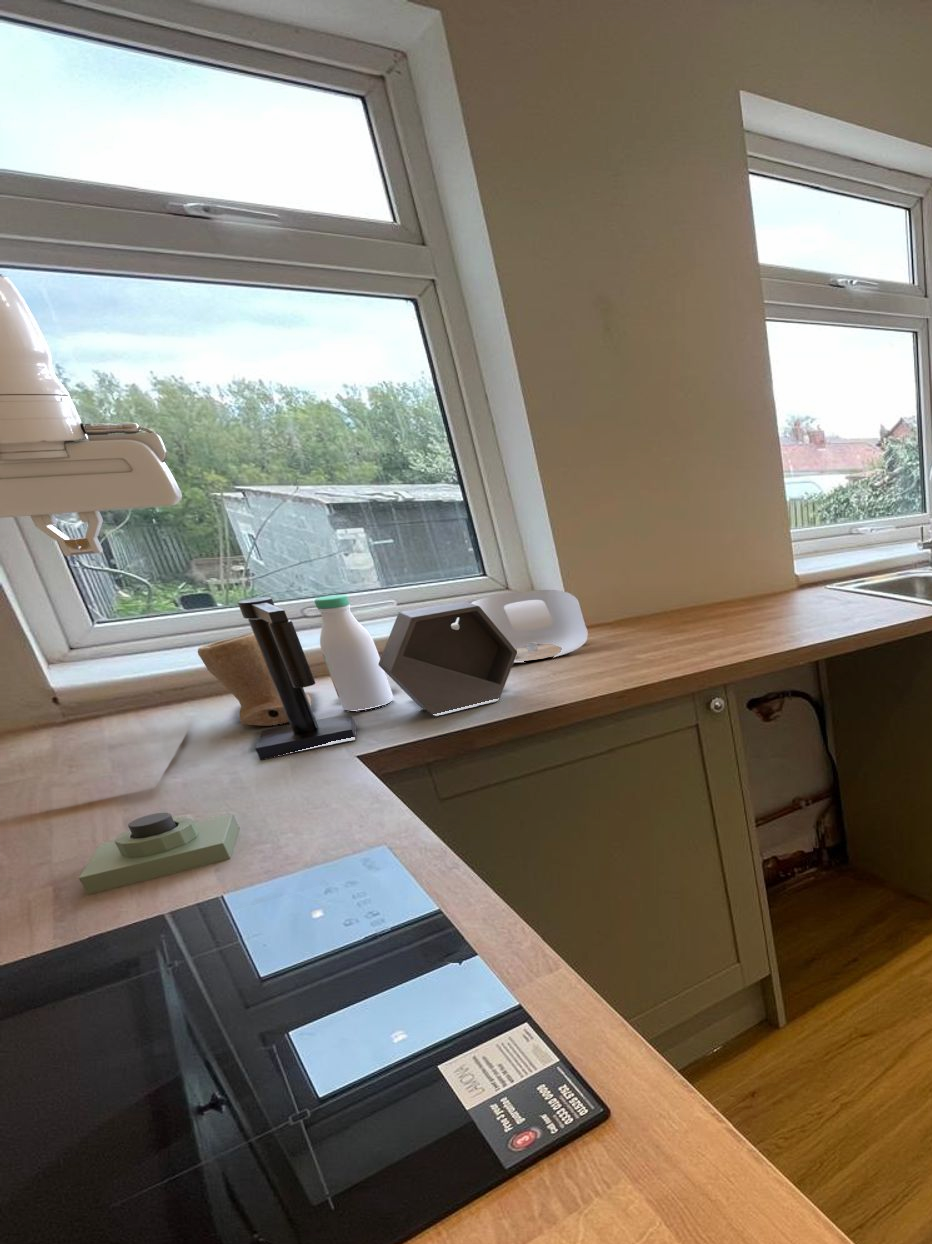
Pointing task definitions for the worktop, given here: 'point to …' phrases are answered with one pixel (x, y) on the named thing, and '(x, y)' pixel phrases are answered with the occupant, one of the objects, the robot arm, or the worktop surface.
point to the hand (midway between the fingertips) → (84, 554)
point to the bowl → (537, 619)
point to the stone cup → (246, 678)
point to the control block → (160, 853)
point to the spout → (281, 638)
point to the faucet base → (293, 707)
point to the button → (151, 825)
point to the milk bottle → (351, 656)
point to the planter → (448, 656)
